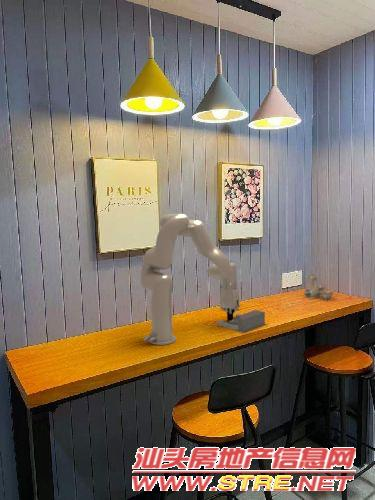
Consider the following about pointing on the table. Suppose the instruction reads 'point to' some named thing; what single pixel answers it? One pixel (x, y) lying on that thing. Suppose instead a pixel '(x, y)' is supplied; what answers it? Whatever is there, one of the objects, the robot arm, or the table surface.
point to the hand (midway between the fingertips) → (230, 320)
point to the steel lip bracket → (245, 321)
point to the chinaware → (316, 289)
